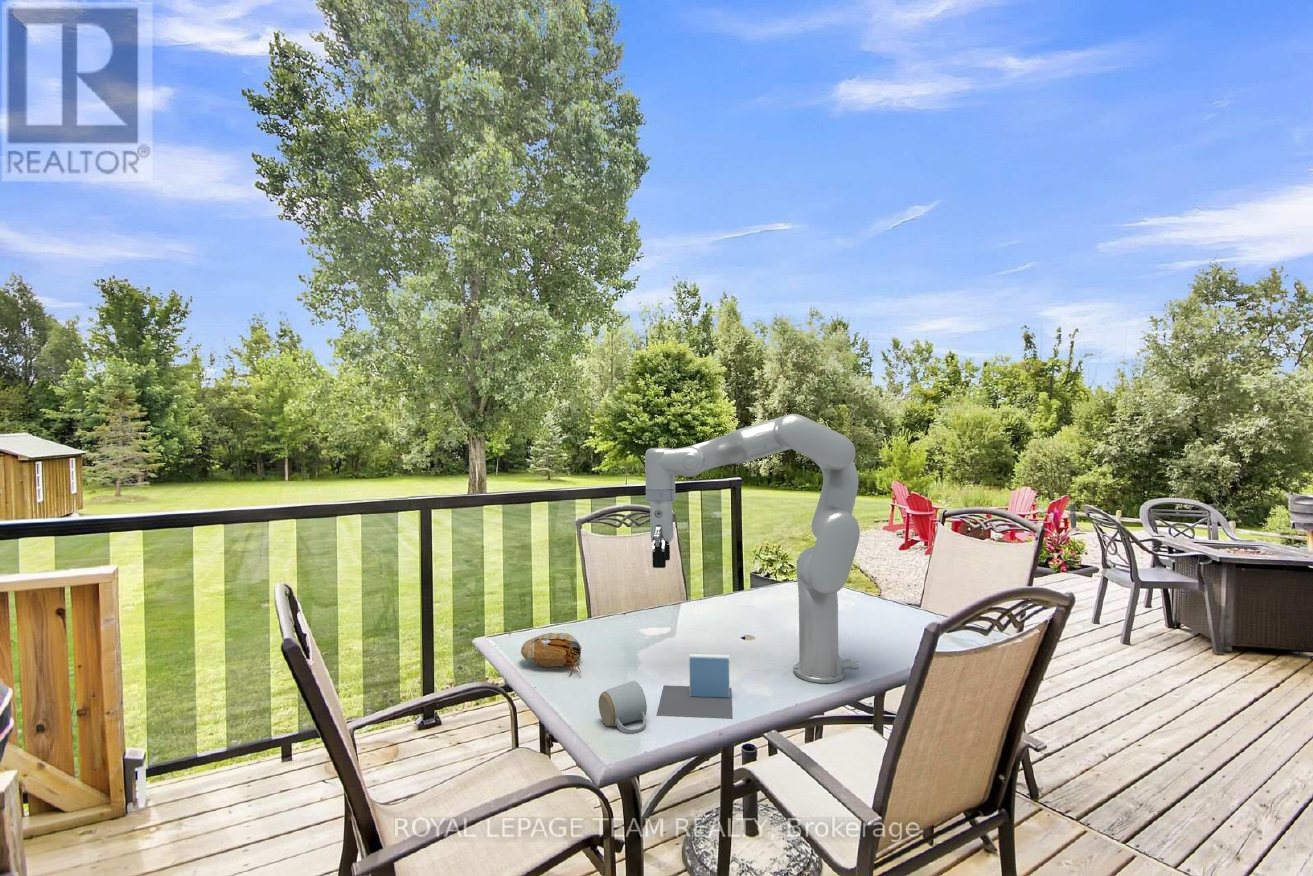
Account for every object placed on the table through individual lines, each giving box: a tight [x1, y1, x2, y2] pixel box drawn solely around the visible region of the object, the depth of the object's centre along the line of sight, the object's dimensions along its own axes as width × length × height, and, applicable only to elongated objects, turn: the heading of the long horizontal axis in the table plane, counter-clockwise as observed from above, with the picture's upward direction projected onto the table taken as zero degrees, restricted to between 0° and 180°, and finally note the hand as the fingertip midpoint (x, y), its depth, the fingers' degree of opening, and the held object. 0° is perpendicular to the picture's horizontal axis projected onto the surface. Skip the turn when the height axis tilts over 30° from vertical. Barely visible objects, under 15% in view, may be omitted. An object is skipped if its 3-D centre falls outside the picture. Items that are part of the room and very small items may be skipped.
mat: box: [656, 684, 734, 720], centre depth 132 cm, size 16×16×1 cm
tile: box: [688, 653, 731, 698], centre depth 135 cm, size 9×2×9 cm, turn 84°
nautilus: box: [520, 632, 582, 678], centre depth 155 cm, size 8×22×15 cm
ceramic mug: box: [598, 680, 648, 734], centre depth 123 cm, size 11×8×8 cm
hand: (661, 563), depth 151 cm, fingers open, 9 cm apart
